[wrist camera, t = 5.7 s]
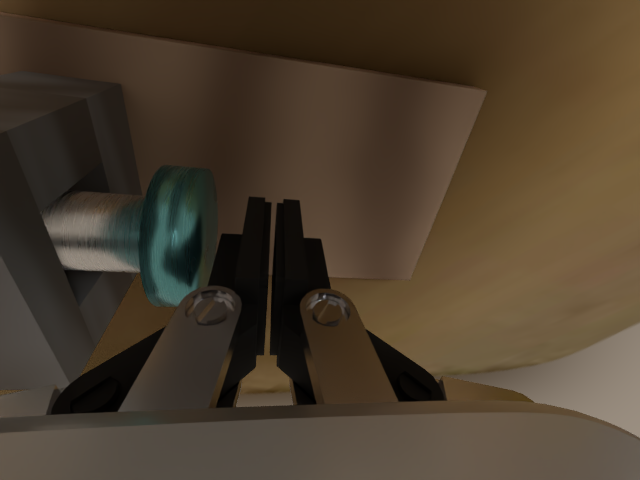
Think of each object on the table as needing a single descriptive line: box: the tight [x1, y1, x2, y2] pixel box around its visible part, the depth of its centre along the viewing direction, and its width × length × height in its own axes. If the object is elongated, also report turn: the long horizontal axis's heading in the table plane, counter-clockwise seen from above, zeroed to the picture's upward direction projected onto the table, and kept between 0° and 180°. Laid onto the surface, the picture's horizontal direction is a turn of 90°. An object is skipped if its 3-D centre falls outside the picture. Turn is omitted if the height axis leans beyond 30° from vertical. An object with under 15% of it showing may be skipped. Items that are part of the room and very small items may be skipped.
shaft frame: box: [0, 12, 487, 390], centre depth 10 cm, size 32×10×8 cm, turn 82°
